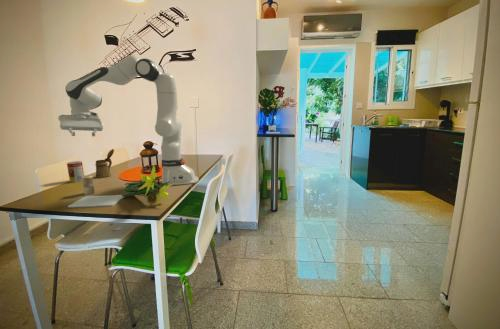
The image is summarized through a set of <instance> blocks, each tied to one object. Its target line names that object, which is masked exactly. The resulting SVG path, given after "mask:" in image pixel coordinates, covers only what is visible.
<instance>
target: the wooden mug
mask: <svg viewBox="0 0 500 329" xmlns="http://www.w3.org/2000/svg"><path fill="white" fill-rule="evenodd" d="M114 152H115V149H114V148H112V149H111V150H109V151H108V153H107V155H106V158H104V159H98V160H96V161H95V178H96V179H105V178H109V177H111V172H110V170H111V167H112V164H113V162H112V159H111V157H112V156H113V155H114Z"/></svg>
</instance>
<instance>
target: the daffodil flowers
mask: <svg viewBox="0 0 500 329" xmlns="http://www.w3.org/2000/svg"><path fill="white" fill-rule="evenodd" d="M157 174H158V173H157V172H156V167H155V164H153V165H152V169H151V172H150V175H147V174H138V176H139V177H140V178H141V179H140V181H134V182H132V181H131V182H126V183H124V185H125V188H123V191H124V192H125V193H124V194H121V195H122V196H123V197H124V196H125V197H129V196H141V197H144V199H145V200H146V202H148V198H147V196H148V197H149V198H152V199H154V197H153V196H152V194H154V195H155V194H156V195H157V198H156V204H158V202H159V200H160V197H161V198H163V199H170V198H169V192H165V191H167V189H170V188H171V186H173V185H172V184H171V185H167V184H168V183H169V182H170V181H169V182H166V183H164V184H163V183H161V184H158V183H157V182H156V181H157V180H158V179H161V178H162V175H159V176H157ZM125 197H124V198H125Z"/></svg>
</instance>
